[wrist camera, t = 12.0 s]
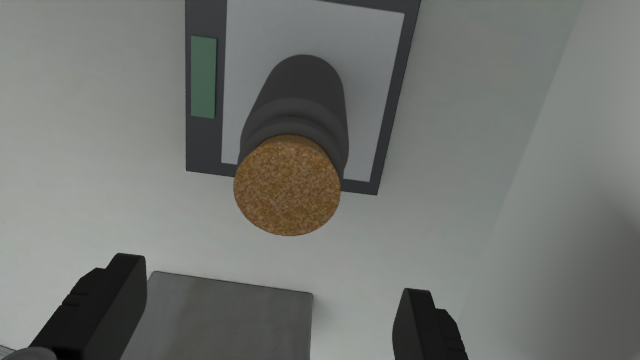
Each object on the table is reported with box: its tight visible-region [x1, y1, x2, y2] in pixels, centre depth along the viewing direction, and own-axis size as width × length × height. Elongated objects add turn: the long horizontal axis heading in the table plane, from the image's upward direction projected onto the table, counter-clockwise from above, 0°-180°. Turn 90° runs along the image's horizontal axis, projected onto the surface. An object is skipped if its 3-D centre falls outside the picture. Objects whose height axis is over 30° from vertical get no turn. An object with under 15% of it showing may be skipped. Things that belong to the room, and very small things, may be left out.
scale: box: [185, 0, 421, 195], centre depth 34 cm, size 16×16×3 cm
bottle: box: [234, 54, 349, 236], centre depth 26 cm, size 6×6×15 cm
